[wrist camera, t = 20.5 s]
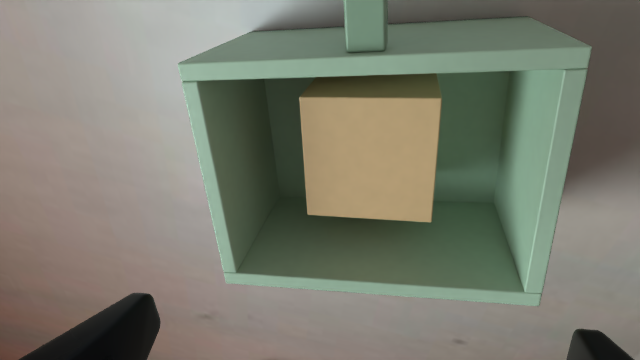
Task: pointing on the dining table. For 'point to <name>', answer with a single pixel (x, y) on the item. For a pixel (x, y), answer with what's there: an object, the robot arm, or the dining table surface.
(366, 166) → the tan cardboard cube
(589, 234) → the dining table surface
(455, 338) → the dining table surface
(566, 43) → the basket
